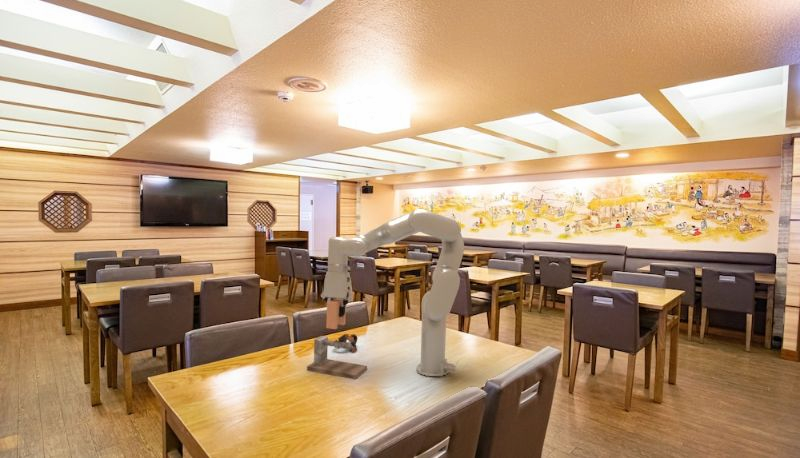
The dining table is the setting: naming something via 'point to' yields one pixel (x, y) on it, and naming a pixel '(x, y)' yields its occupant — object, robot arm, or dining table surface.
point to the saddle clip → (334, 314)
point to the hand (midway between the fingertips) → (336, 315)
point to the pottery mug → (350, 339)
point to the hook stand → (332, 366)
